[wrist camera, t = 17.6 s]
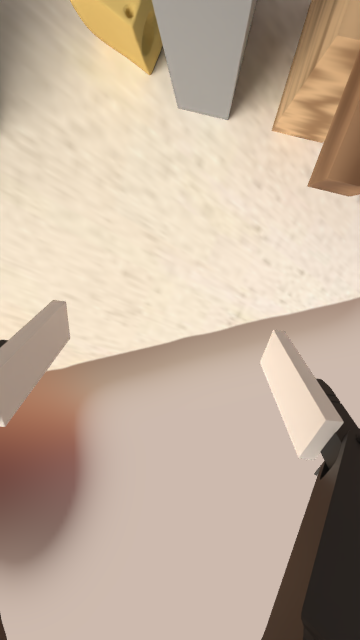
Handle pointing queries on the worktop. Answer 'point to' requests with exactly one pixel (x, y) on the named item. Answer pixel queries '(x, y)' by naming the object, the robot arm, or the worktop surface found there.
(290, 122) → the oak block
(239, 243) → the worktop surface
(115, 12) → the cheese
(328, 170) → the walnut block
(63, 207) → the worktop surface
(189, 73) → the slate-grey stand
